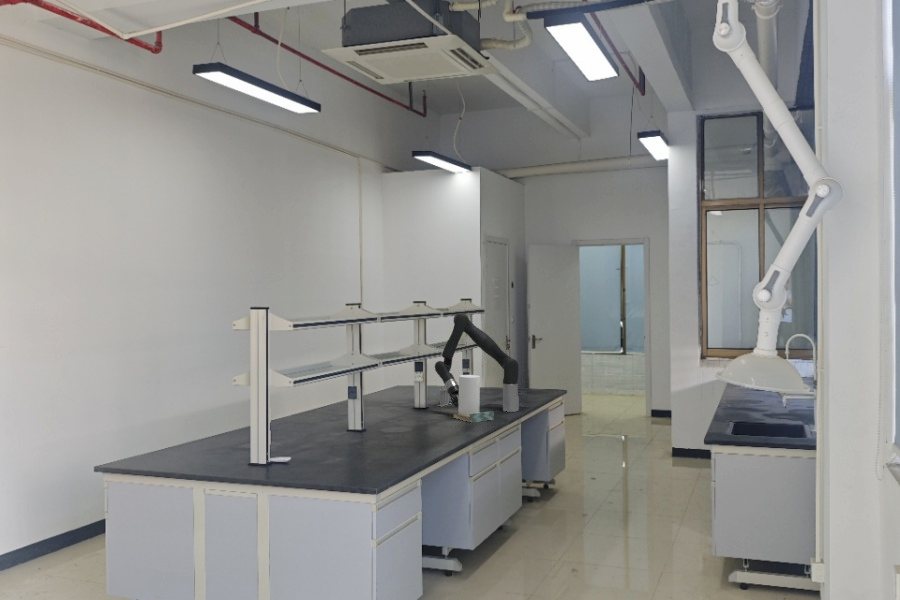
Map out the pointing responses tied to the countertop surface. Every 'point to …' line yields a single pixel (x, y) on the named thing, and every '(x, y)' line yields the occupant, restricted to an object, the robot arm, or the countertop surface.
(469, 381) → the cylinder
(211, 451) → the countertop surface
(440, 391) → the test tube rack
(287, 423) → the countertop surface
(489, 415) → the cradle
